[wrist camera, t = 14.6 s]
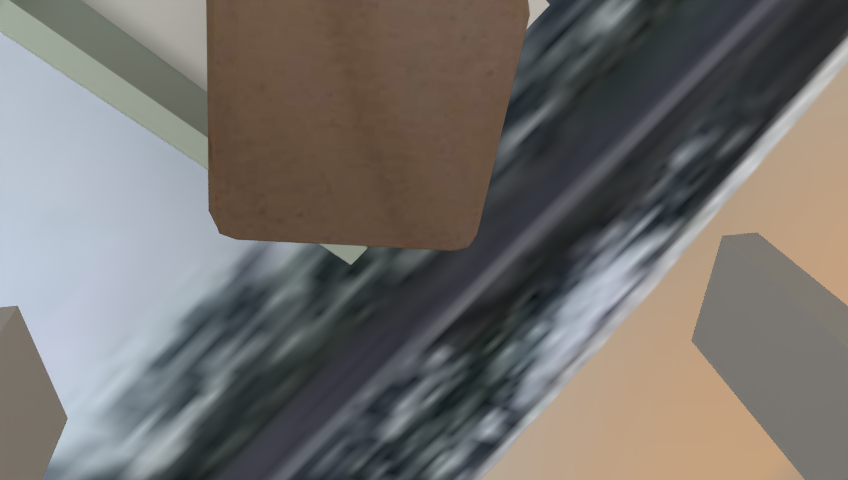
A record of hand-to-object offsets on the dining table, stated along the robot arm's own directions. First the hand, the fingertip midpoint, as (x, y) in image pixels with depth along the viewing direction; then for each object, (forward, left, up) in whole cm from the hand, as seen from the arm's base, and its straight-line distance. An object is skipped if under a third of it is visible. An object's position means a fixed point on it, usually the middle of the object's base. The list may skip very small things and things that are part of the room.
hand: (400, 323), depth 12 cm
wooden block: (0, 0, -30) cm, 30 cm away
